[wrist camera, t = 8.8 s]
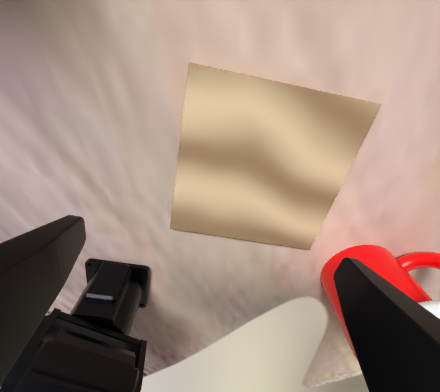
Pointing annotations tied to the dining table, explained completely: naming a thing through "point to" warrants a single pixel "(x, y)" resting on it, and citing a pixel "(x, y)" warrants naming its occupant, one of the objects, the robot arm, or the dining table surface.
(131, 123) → the dining table surface
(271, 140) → the mat
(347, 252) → the mug
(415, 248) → the dining table surface
